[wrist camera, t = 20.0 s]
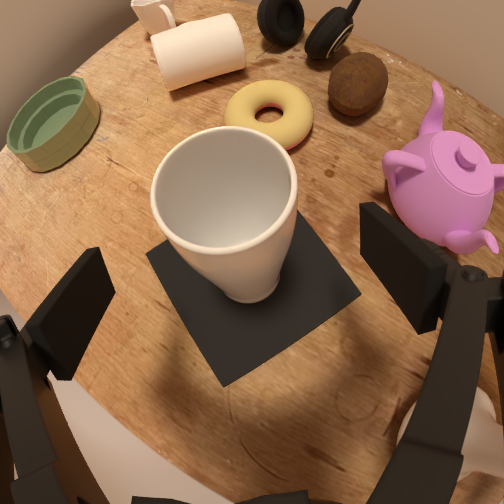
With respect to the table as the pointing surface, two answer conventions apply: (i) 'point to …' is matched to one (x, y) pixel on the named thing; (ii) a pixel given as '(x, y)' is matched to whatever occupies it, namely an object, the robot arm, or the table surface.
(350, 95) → the potato
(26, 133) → the bowl
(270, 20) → the headphones
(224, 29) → the mug
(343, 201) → the table surface
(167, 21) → the cup
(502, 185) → the teapot
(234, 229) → the drinking glass
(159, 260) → the mat
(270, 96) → the donut
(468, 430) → the flower vase
